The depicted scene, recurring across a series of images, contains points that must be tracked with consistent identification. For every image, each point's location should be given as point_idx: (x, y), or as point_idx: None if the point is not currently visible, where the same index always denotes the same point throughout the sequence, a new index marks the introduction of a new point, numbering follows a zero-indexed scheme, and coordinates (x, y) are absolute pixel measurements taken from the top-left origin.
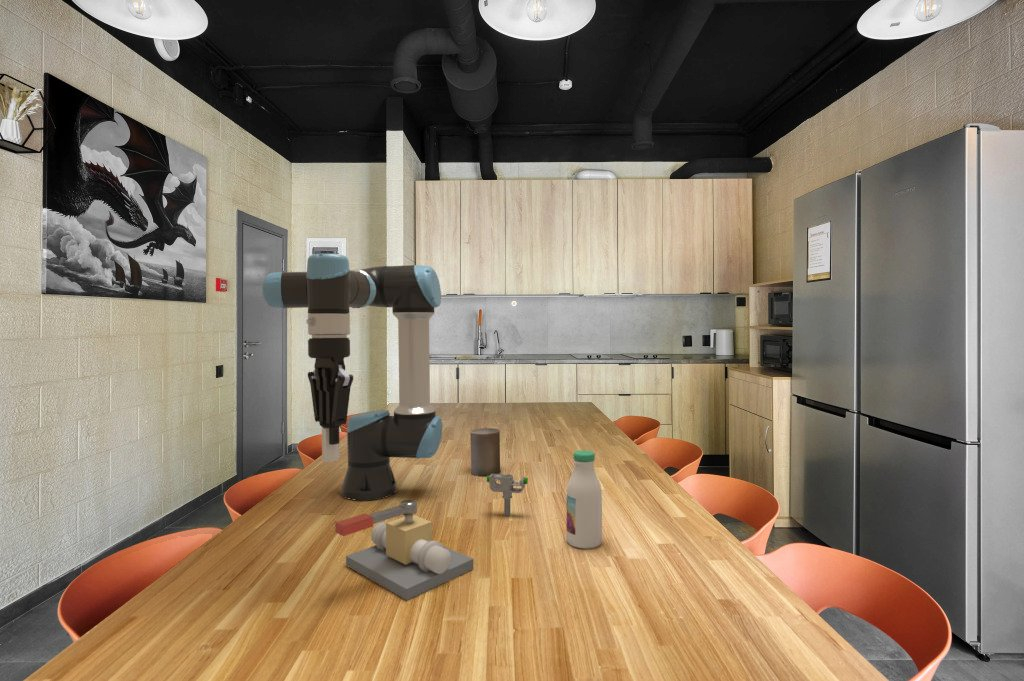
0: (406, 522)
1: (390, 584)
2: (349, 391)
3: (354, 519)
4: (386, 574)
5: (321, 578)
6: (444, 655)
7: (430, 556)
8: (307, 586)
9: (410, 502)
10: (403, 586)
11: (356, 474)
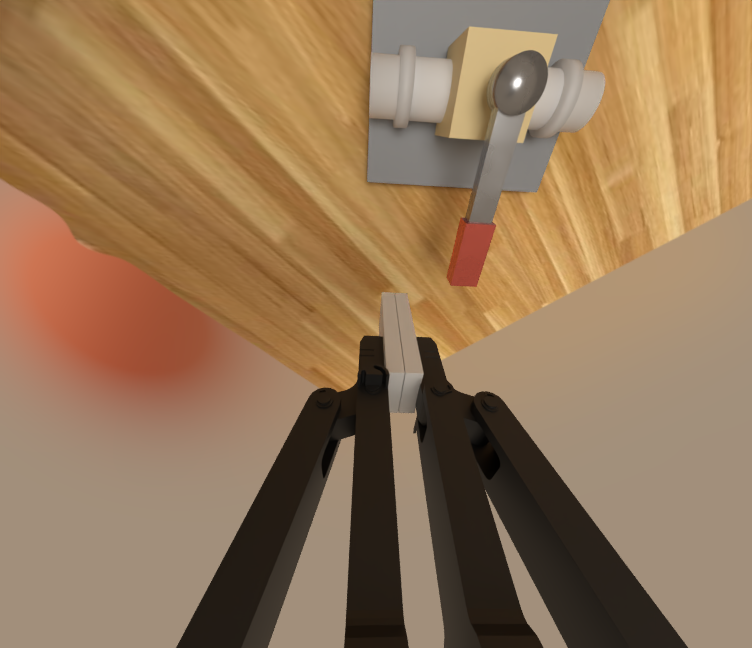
0: None
1: None
2: (672, 631)
3: (472, 257)
4: None
5: (374, 228)
6: (628, 240)
7: (571, 127)
8: (380, 252)
9: (528, 81)
10: (527, 189)
11: None
